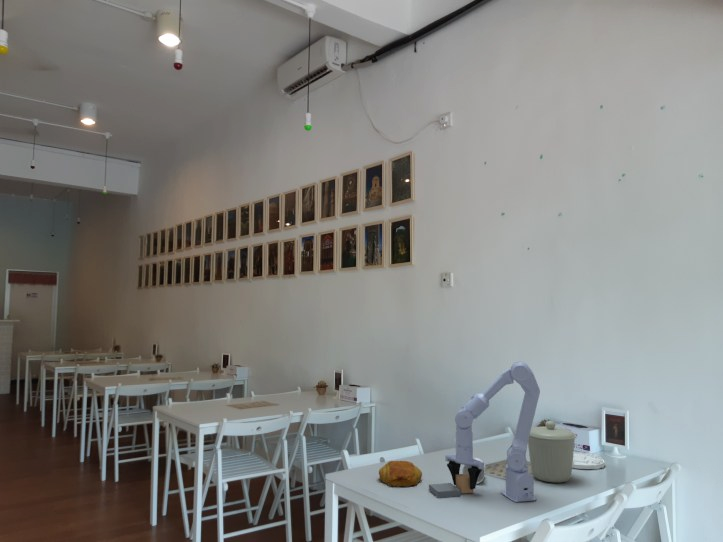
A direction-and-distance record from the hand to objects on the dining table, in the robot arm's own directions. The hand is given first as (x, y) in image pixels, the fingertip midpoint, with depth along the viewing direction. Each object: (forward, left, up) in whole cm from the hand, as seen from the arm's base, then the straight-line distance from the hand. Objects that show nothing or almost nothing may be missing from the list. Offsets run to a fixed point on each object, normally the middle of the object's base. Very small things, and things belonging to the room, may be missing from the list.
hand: (464, 486), depth 184 cm
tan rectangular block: (0, 0, -1) cm, 1 cm away
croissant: (+16, +18, -2) cm, 24 cm away
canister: (+7, -38, -2) cm, 39 cm away
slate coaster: (0, +8, -2) cm, 8 cm away
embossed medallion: (+24, -62, -2) cm, 66 cm away
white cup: (+16, -12, +2) cm, 20 cm away
